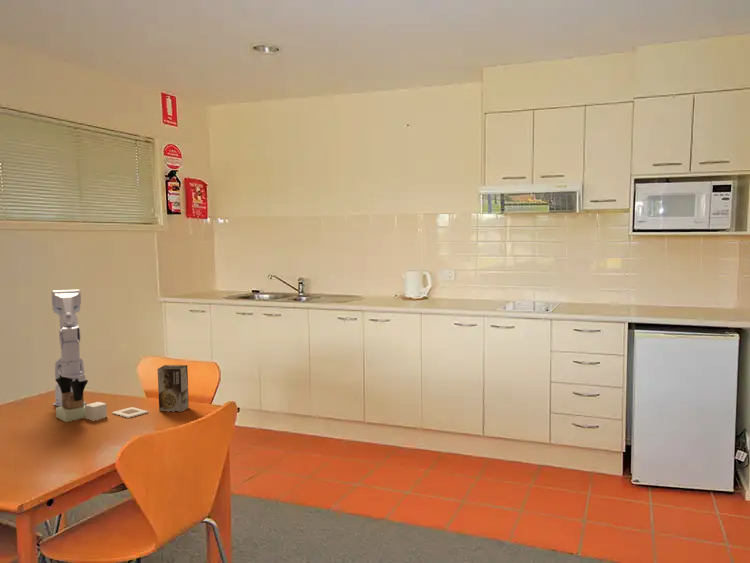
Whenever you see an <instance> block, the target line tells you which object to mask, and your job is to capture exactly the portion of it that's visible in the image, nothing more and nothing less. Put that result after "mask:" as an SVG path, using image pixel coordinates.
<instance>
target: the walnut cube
mask: <svg viewBox="0 0 750 563" xmlns="http://www.w3.org/2000/svg"><path fill="white" fill-rule="evenodd" d="M84 402H85V401H84V394H83V395H82V399H81V400H79V401H75V400H74V395H73V391H72V392H67V393H62V407H63V408H66V409H69V410H70V409H75V408H79V407H84V405H85V404H84Z"/></svg>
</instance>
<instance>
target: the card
mask: <svg viewBox="0 0 750 563" xmlns="http://www.w3.org/2000/svg"><path fill="white" fill-rule="evenodd" d="M112 413H113V414H112ZM145 413H146V414H149V410H145V409H142V408H138V407H133V406H131V407H127V408H123V409H118V410H115V411H111V414H112V415H115V414H116V416H118V415H120V416H119V417H122V416H123V417H122V418H125V417H126V419H131V417H132V418H135V416H136V417H138V415H139V416H143V415H146V414H145ZM142 414H143V415H142Z"/></svg>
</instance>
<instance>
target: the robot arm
mask: <svg viewBox="0 0 750 563" xmlns="http://www.w3.org/2000/svg"><path fill="white" fill-rule="evenodd" d="M81 292H82V291H81V290H80V289H79V288H77V289H61V290H60V289H59V290H54V289H53V290H52V291H51V303H52V304H51V305H52V311H53V314H56V315H58V317H59V329H58V330H59V331H58V334H59V335H58V337H59V338H58V339H59V345H60V350H61V351H60V352H61V353H60V355H61V357H59V358H58V359H57V360H56V361H55V362H54V377H55V382H56V385H55V388H54V393H55V394H54V397H55V402H53V403H52V404H53V405H54V406H56V407H61V406H62V393H67V392H72V391H73V395H74V400H75V401H79V400H81V399H82V395H83V396H84V391H85V388H86V385H87V384H88V382H89V381H88V379H86V374H85V366H84V360H83V358H81V357H80V343H81V329H80V325H79V324H78V323H79V322H78V316H77V315H76V314H77V313H79V312H80V310H81V305H82V304H81V303H82V296H81V295H82V293H81ZM84 405H87V402H86V401H84Z"/></svg>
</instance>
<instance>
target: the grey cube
mask: <svg viewBox="0 0 750 563" xmlns="http://www.w3.org/2000/svg"><path fill="white" fill-rule="evenodd" d="M84 405H85V415H86V418H85V419H86V420H88V419H89V421H91V422H94V421H95V420H96V421H99V419H100V420H102V418H103V419H106V418H105V417H107V418H108V408H107V407H108V406H107V403H105V402H102V401H101V402H100V401H96V402H91V403H86V404H84ZM96 421H95V422H96Z"/></svg>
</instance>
